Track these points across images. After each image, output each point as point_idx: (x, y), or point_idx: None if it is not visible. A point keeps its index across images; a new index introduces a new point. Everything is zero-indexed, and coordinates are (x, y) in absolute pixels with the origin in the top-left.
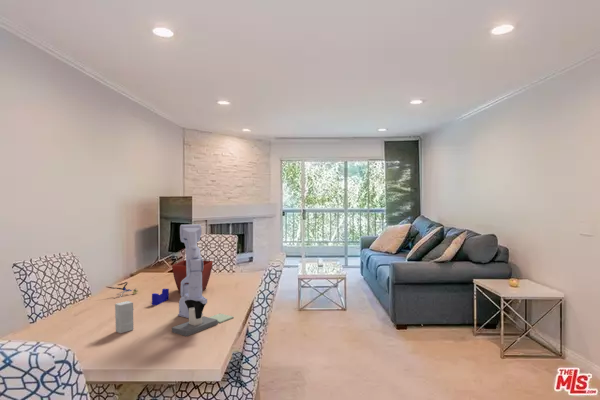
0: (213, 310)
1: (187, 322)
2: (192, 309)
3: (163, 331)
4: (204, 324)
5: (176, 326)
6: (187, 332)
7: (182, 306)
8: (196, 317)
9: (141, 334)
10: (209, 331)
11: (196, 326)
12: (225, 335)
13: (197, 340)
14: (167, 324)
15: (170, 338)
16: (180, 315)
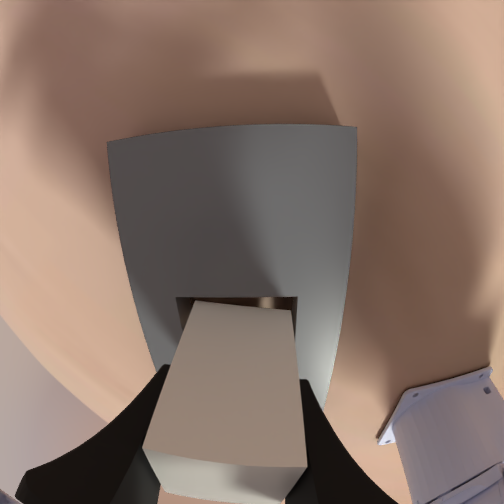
0: (364, 469)
1: (329, 323)
2: (195, 456)
3: (417, 106)
4: (154, 357)
5: (337, 177)
6: (115, 156)
7: (489, 417)
8: (161, 373)
9: (469, 7)
10: (102, 316)
11: (155, 296)
12: (15, 308)
13: (24, 156)
14: (487, 246)
15: (206, 22)
16: (476, 373)
